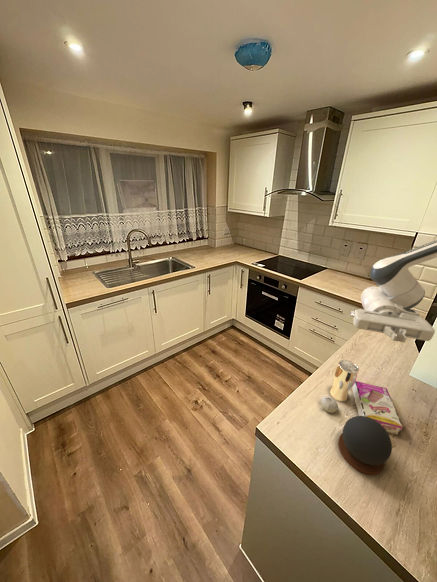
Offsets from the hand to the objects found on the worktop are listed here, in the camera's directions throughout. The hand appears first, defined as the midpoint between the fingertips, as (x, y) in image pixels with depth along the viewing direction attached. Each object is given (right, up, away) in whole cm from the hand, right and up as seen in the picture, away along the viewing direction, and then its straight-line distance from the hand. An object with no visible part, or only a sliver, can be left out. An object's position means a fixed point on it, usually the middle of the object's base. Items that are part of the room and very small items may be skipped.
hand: (399, 339), depth 65 cm
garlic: (-11, -29, +20) cm, 37 cm away
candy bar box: (+8, -24, +26) cm, 36 cm away
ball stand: (-8, -36, +6) cm, 37 cm away
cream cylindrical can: (-4, -27, +25) cm, 37 cm away
